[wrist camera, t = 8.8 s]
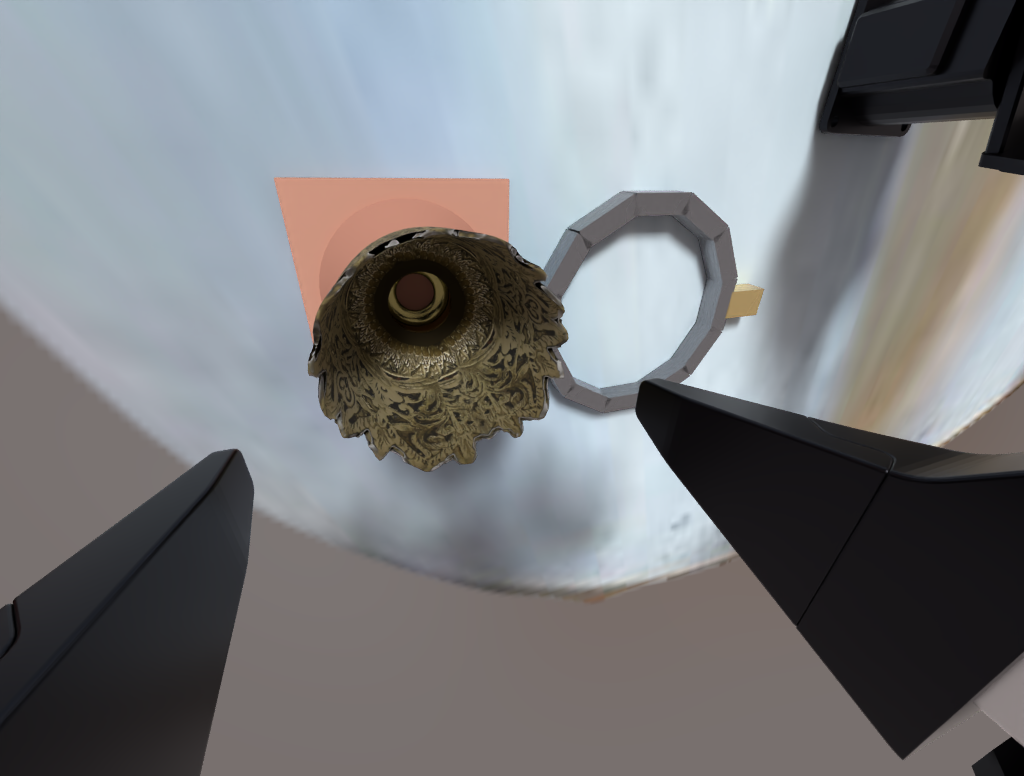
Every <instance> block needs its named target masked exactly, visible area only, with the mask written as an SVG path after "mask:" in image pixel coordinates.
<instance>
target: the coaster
mask: <svg viewBox="0 0 1024 776" xmlns="http://www.w3.org/2000/svg"><path fill="white" fill-rule="evenodd" d="M274 180H275V185H276V189H277V193H278V197H279V201H280V206H281V210H282V214H283V218H284V223H285V227H286V231H287V235H288V239H289V244H290V248H291V252H292V256H293V260H294V265H295V269H296V273H297V277H298V281H299V286H300V290H301V294H302V298H303V302H304V307H305V311H306V315H307V319H308V323H309V328H310V332H311V336H312V340H313V344H314V339H313V325H314V321H315V317H316V314H317V311H318V309H319V307H320V305H321V303H322V301H323V300H324V298H325V297H326V295H327V294H328V293H329V291H330V290H331V289H332V287H333V286H334V285H335V283H336V282H337V280H338V278H339V277H340V275H341V274H342V272H343V271H344V270H345V268H346V267H347V266H348V265H349V263H350V262H351V261H352V260H353V259H354V258H355V257H356V256H357V255H358V254H359V253H360V252H361V251H362V250H363V249H364V248H365V247H367V246H368V245H369V244H371V243H372V242H374V241H376V240H377V239H379V238H381V237H383V236H385V235H387V234H390V233H392V232H395V231H399V230H402V229H407V228H413V227H428V226H429V227H443V228H451V229H456V230H464V231H470V232H476V233H482V234H487V235H491V236H494V237H497V238H500V239H502V240H504V241H506V242H508V239H509V179H450V178H274ZM433 294H434V290H433V286H432V284H431V282H430V281H429V280H428V279H427V278H426V277H424V276H423V275H420V274H409V275H407V276H405V277H403V278H402V279H401V280H400V281H399V283H398V285H397V289H396V295H397V298H398V300H399V302H400V303H401V304H402V305H403V306H404V307H406V308H407V309H410V310H420V309H423V308H425V307H426V306H428V305H429V304H430V302H431V301H432V298H433Z"/></svg>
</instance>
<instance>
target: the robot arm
mask: <svg viewBox="0 0 1024 776" xmlns="http://www.w3.org/2000/svg"><path fill="white" fill-rule="evenodd" d="M993 118H995V120H994V123H993V127H992V130H991V133H990V137H989V140H988V144H987V147H986V151H985V152H983V153H982V155H981V158H980V162H979V165H978V166H979V167H984V168H990V169H996V170H999V171H1001V172H1007V173H1013V174H1019V175H1024V0H859V4H858V7H857V10H856V13H855V16H854V19H853V22H852V25H851V28H850V31H849V35H848V38H847V41H846V44H845V47H844V50H843V53H842V56H841V59H840V62H839V66H838V69H837V72H836V75H835V78H834V81H833V84H832V87H831V90H830V94H829V97H828V100H827V103H826V106H825V109H824V112H823V115H822V118H821V121H820V131H821V132H822V133H828V134H847V135H866V136H884V137H901V136H903V135H905V134H906V133H907V132H908V130H909V128H910V126H911V124H912V123H928V122H944V121H961V120H977V119H993ZM635 412H636V415H637V418H638V419H639V421H640V422H641V424H642V426H643V427H644V429H645V430H646V432H647V433H648V435H649V437H650V438H651V440H652V441H653V443H654V444H655V446H656V448H657V449H658V451H659V452H660V454H661V455H662V457H663V458H664V460H665V461H666V463H667V464H668V465H669V467H670V468H671V469H672V471H673V472H674V473H675V475H676V476H677V477H678V478H679V480H680V481H681V482H682V483H683V485H684V486H685V487H686V488H687V490H688V491H689V492H690V494H691V495H692V496H693V497H694V499H695V500H696V501H697V502H698V504H699V505H700V506H701V507H702V509H703V510H704V511H705V513H706V514H707V515H708V516H709V518H710V519H711V520H712V521H713V523H714V524H715V525H716V527H717V528H718V529H719V530H720V532H721V533H722V534H723V535H724V537H725V538H726V539H727V540H728V542H729V543H730V544H731V546H732V547H733V548H734V549H735V551H736V552H737V553H738V554H739V556H740V557H741V558H742V559H743V561H744V562H745V563H746V565H747V566H748V567H749V568H750V570H751V571H752V572H753V573H754V575H755V576H756V577H757V578H758V580H759V581H760V582H761V584H762V585H763V586H764V587H765V589H766V590H767V591H768V592H769V594H770V595H771V596H772V597H773V599H774V600H775V601H776V602H777V604H778V605H779V606H780V608H781V609H782V610H783V611H784V613H785V614H786V615H787V616H788V618H789V619H790V620H791V622H792V623H793V624H794V625H795V626H796V628H797V630H798V631H799V632H800V633H801V635H802V636H803V637H804V638H805V640H806V641H807V642H808V644H809V645H810V646H811V647H812V649H813V650H814V651H815V652H816V654H817V655H818V656H819V657H820V659H821V660H822V661H823V663H824V664H825V665H826V666H827V668H828V669H829V670H830V672H831V673H832V674H833V675H834V676H835V678H836V679H837V680H838V682H839V683H840V684H841V685H842V687H843V688H844V689H845V691H846V692H847V693H848V694H849V696H850V697H851V698H852V700H853V701H854V702H855V703H856V705H857V706H858V707H859V708H860V710H861V711H862V712H863V714H864V715H865V716H866V717H867V718H868V720H869V721H870V722H871V724H872V725H873V726H874V727H875V729H876V730H877V731H878V733H879V734H880V735H881V736H882V737H883V739H884V740H885V741H886V743H887V744H888V745H889V746H890V747H891V749H892V750H893V751H894V752H895V753H896V754H897V755H898V756H899V757H900V758H901V759H902V760H905V759H906V758H908V757H910V756H911V755H913V754H914V753H916V752H917V751H919V750H920V749H922V748H924V747H925V746H927V745H928V744H930V743H931V742H933V741H934V740H936V739H938V738H939V737H941V736H942V735H944V734H945V733H947V732H948V731H950V730H952V729H953V728H954V727H956V726H958V725H959V724H961V723H962V722H964V721H966V720H967V719H969V718H970V717H972V716H973V715H975V714H976V713H978V712H979V711H981V710H982V711H983V712H984V713H985V714H986V715H987V716H988V717H990V718H991V719H992V720H993V721H994V722H995V723H996V724H998V725H999V726H1000V727H1001V728H1002V729H1003V730H1005V731H1006V732H1007V733H1008V734H1009V735H1010V736H1011V738H1009V739H1008V740H1006V741H1005V742H1003V743H1002V744H1001V745H999V746H998V747H996V748H995V749H993V750H992V751H991V752H989V753H988V754H987V755H985V756H984V757H983V758H982V759H980V760H979V761H978V762H976V763H975V764H974V765H972V768H973V770H974V773H975V776H1024V452H1020V453H1011V454H998V455H997V454H996V455H988V454H973V453H965V452H959V451H954V450H949V449H945V448H940V447H936V446H931V445H926V444H922V443H917V442H913V441H908V440H904V439H899V438H895V437H890V436H886V435H881V434H877V433H873V432H868V431H864V430H860V429H855V428H851V427H847V426H843V425H839V424H835V423H831V422H827V421H823V420H819V419H815V418H811V417H808V418H807V417H806V416H803V415H800V414H796V413H792V412H788V411H784V410H780V409H776V408H772V407H769V406H765V405H761V404H757V403H753V402H749V401H745V400H741V399H738V398H734V397H730V396H726V395H722V394H718V393H714V392H710V391H707V390H703V389H699V388H695V387H691V386H687V385H683V384H679V383H676V382H672V381H668V380H664V379H660V378H652V379H646V380H643V381H642V382H641V384H640V386H639V391H638V396H637V401H636V407H635ZM253 500H254V485H253V481H252V478H251V476H250V473H249V471H248V468H247V465H246V463H245V460H244V458H243V455H242V453H241V452H240V451H239V450H238V449H229V450H223V451H217V452H213V453H211V454H210V455H208V456H207V457H206V458H204V459H203V460H202V461H200V462H199V463H198V464H196V465H195V466H194V467H192V468H191V469H189V470H188V471H187V472H185V473H184V474H183V475H181V476H180V477H179V478H177V479H176V480H175V481H173V482H172V483H170V484H169V485H168V486H167V487H165V488H164V489H162V490H161V491H160V492H158V493H157V494H156V495H154V496H153V497H152V498H150V499H149V500H148V501H146V502H145V503H143V504H142V505H141V506H139V507H138V508H137V509H135V510H134V511H133V512H131V513H130V514H128V515H127V516H126V517H124V518H123V519H122V520H120V521H119V522H118V523H116V524H115V525H114V526H113V527H111V528H110V529H108V530H107V531H105V532H104V533H103V534H101V535H100V536H99V537H97V538H96V539H95V540H93V541H92V542H91V543H89V544H88V545H86V546H85V547H84V548H82V549H81V550H80V551H78V552H77V553H76V554H74V555H73V556H72V557H70V558H69V559H68V560H66V561H65V562H64V563H62V564H61V565H59V566H58V567H57V568H55V569H54V570H53V571H51V572H50V573H49V574H47V575H46V576H44V577H43V578H42V579H41V580H39V581H38V582H36V583H35V584H34V585H32V586H31V587H30V588H28V589H27V590H26V591H24V592H23V593H21V594H20V595H19V596H17V597H16V598H15V599H14V600H13V604H7V605H5V606H4V607H2V608H1V609H0V776H200V774H201V769H202V765H203V761H204V756H205V751H206V747H207V743H208V738H209V734H210V730H211V725H212V720H213V716H214V712H215V707H216V703H217V698H218V694H219V689H220V685H221V681H222V676H223V672H224V667H225V663H226V659H227V654H228V649H229V645H230V641H231V637H232V632H233V628H234V623H235V619H236V614H237V610H238V605H239V601H240V596H241V592H242V588H243V583H244V579H245V574H246V569H247V564H248V555H249V545H250V533H251V522H252V511H253Z"/></svg>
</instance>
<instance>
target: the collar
mask: <svg viewBox="0 0 1024 776" xmlns="http://www.w3.org/2000/svg"><path fill="white" fill-rule="evenodd" d="M661 215H672V216H673V217H674V218H675V219H677V220H678V221H679V222H680V223H681V224H682V225H684V226H685V227H686V228H687V229H688V230H689V231H691V232H692V233H693V234H694V235H695V236H697V237H698V239H699V244H700V248H701V253H702V257H703V262H704V266H705V271H706V275H707V281H706V285H705V289H704V294H703V298H702V302H701V306H700V310H699V314H698V318H697V322H696V323H695V325H694V326H693V328H692V329H691V331H690V332H689V333H688V335H687V336H686V338H685V339H684V341H683V342H682V343H681V345H680V346H679V348H678V349H677V351H676V352H675V353H674V355H673V356H672V358H671V359H670V360H668V361H667V362H665V363H664V364H663V365H661V366H660V367H658V368H657V369H655V370H654V371H652V372H651V373H649V374H648V375H646V376H645V377H644V378H642V379H641V380H639V381H638V382H636V383H630V384H624V385H618V386H612V387H606V388H600V389H599V388H596V387H594V386H592V385H590V384H587V383H585V382H583V381H580V380H578V379H576V378H574V377H572V375H571V373H570V371H569V369H568V367H567V365H566V364H565V362H564V360H563V358H562V356H561V354H560V352H559V350H558V349H557V348H554V349H553V348H552V349H553V351H554V353H555V355H556V356H557V358H558V359H559V360H560V361H561V364H562V368H563V373H564V378H563V379H560V378H559V379H550V378H549V379H550V380H551V382H552V384H553V385H554V387H555V388H556V389H557V390H558V391H559V393H560V394H561V395H562V396H563V397H564V398H567V399H569V400H572V401H574V402H577V403H579V404H582V405H584V406H587V407H589V408H592V409H594V410H597V411H599V412H602V413H603V412H604V413H607V412H612V411H617V410H623V409H628V408H633V407H636V401H637V396H638V391H639V386H640V384H641V382H642V381H643V380H646V379H652V378H660V379H664V380H668V381H672V382H676V383H681V382H682V381H684V380H685V379H686V378H688V377H689V376H690V375H691V374H692V373H693V372H694V370H695V369H696V367H697V366H698V365H699V363H700V362H701V360H702V359H703V358H704V356H705V355H706V354H707V352H708V351H709V349H710V348H711V347H712V345H713V344H714V342H715V341H716V340H717V338H718V337H719V336H720V334H721V333H722V332H721V330H723V328H724V325H725V321H726V318H734V317H742V316H750V315H756V313H757V310H758V307H759V304H760V300H761V297H762V294H763V291H764V289H763V288H760V287H757V286H753V285H750V284H740V285H736V283H737V277H738V276H737V270H736V264H735V258H734V252H733V247H732V241H731V235H730V229H729V227H728V225H727V224H726V223H725V222H724V221H723V220H722V219H721V218H720V217H719V216H718V215H716V214H715V213H714V212H713V211H712V210H711V209H710V208H709V207H708V206H707V205H706V204H705V203H704V202H703V201H701V200H700V199H699V198H698V197H697V196H696V195H695V194H694V193H692V192H682V191H623V192H619V193H618V194H617V195H615V196H614V197H612V198H611V199H609V200H608V201H606V202H605V203H603V204H602V205H600V206H599V207H597V208H596V209H594V210H593V211H591V212H590V213H588V214H587V215H586V216H584V217H583V218H581V219H580V220H578V221H577V222H575V223H574V224H572V225H571V226H569V227H568V229H569V230H567V229H566V231H565V232H564V234H563V236H562V238H561V240H560V241H559V243H558V245H557V247H556V249H555V250H554V252H553V254H552V256H551V257H550V259H549V261H548V263H547V265H546V266H545V268H544V270H543V271H544V272H545V273H546V274H547V275H548V277H547V278H546V281H545V282H544V281H541V283H542V284H543V285H544V286H546V287H547V288H548V289H550V290H551V291H552V292H553V293H554V294H555V295H556V296H557V298H558V299H559V300H560V302H561V298H562V296H563V294H564V293H565V291H566V289H567V288H568V286H569V284H570V282H571V281H572V279H573V277H574V276H575V274H576V272H577V270H578V269H579V267H580V265H581V264H582V262H583V260H584V258H585V257H586V255H587V253H588V252H589V250H590V248H591V247H593V246H594V245H596V244H597V243H598V242H600V241H601V240H603V239H604V238H606V237H607V236H609V235H610V234H612V233H613V232H615V231H616V230H618V229H619V228H621V227H622V226H624V225H625V224H626V223H628V222H629V221H631V220H632V219H634V218H635V217H637V216H661ZM689 374H690V375H689Z"/></svg>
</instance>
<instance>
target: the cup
mask: <svg viewBox="0 0 1024 776" xmlns="http://www.w3.org/2000/svg"><path fill="white" fill-rule="evenodd" d="M409 274H420V275H423V276H424V277H426V278H427V279H428V280H429V281H430V282H431V284H432V286H433V290H434V294H433V298H432V301H431V302H430V304H429V305H428V306H426V307H425V308H423V309H420V310H410V309H407V308H406V307H404V306H403V305H402V304H401V303H400V302H399V300H398V298H397V295H396V289H397V285H398V283H399V281H400V280H401V279H402V278H403V277H405V276H407V275H409ZM547 277H548V275H547V274H546V273H545V272H544V271H543V270H542V269H541V268H540V267H539V266H537V265H535V264H533V263H531V262H529V261H527V260H525V259H524V258H522V257H521V256H520V255H519V253H518V252H517V250H516V249H515V248H514V247H513V246H512V245H511V244H509V243H508V242H506V241H504V240H502V239H500V238H497V237H494V236H491V235H487V234H482V233H476V232H470V231H464V230H456V229H451V228H443V227H429V226H428V227H413V228H407V229H402V230H399V231H395V232H392V233H390V234H387V235H385V236H383V237H381V238H379V239H377V240H376V241H374V242H372V243H371V244H369V245H368V246H367V247H365V248H364V249H363V250H362V251H361V252H360V253H359V254H358V255H357V256H356V257H355V258H354V259H353V260H352V261H351V262H350V263H349V265H348V266H347V267H346V268H345V270H344V271H343V272H342V274H341V275H340V277H339V278H338V280H337V282H336V283H335V285H334V286H333V287H332V289H331V290H330V291H329V293H328V294H327V295H326V297H325V298H324V300H323V301H322V303H321V305H320V307H319V309H318V311H317V314H316V317H315V321H314V325H313V339H314V345H313V349H312V351H311V353H310V357H309V360H308V374H309V376H314V377H316V378H317V377H318V378H319V387H318V398H319V402H320V406H321V409H322V411H323V413H324V415H325V416H326V417H328V418H329V419H330V420H331V419H335V423H336V424H338V427H339V430H340V433H341V435H342V437H343V438H352V437H355V436H356V437H357V438H358V437H360V436H361V435H363V433H364V434H365V436H366V439H367V441H368V446H369V447H370V449H371V450H372V451H373V453H374V454H375V456H376V457H377V458H378V459H379V460H382V459H383V458H384V457H385V456H386V455H387V453H388V452H389V451H392V452H394V453H396V454H398V455H399V456H400V457H402V459H403V460H404V462H405V463H408V464H410V465H412V466H414V467H417V468H419V469H421V470H423V471H426V472H430V471H433V470H435V469H437V468H438V467H440V466H441V465H443V464H446V463H447V462H449V461H451V460H455V461H456V462H457V463H459V464H471V463H473V462H474V461H475V459H476V457H477V453H476V451H477V450H476V444H477V443H476V442H478V441H480V440H482V439H492V438H493V437H494V436H495V434H496V433H497V432H499V431H500V430H502V431H504V432H508V433H509V434H511V436H512V437H514V438H517V437H520V436H521V435H522V433H523V422H522V421H524V420H528V421H531V420H541V419H543V418H544V417H545V415H546V413H547V411H548V409H549V392H548V381H549V378H550V379H559V378H560V379H563V378H564V373H563V368H562V364H561V361H560V360H559V359H558V358H557V356H556V355H555V353H554V351H553V349H554V348H559V347H561V345H562V344H564V343H565V342H567V340H568V333H567V330H566V329H565V327H564V326H563V325H562V320H561V319H560V318H561V317H562V316H563V313H564V312H565V310H564V307H563V305H562V303H561V302H560V300H559V299H558V298H557V296H556V295H555V294H554V293H553V292H552V291H551V290H550V289H548V288H547V287H546V286H544V285H543V284H542V283H541V281H544V282H545V281H546V278H547ZM552 348H553V349H552Z"/></svg>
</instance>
